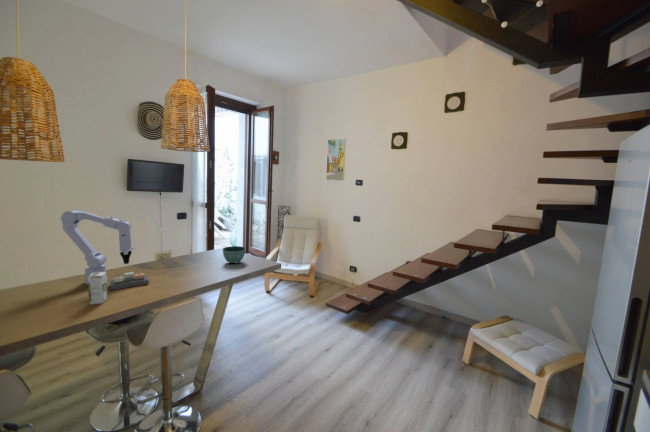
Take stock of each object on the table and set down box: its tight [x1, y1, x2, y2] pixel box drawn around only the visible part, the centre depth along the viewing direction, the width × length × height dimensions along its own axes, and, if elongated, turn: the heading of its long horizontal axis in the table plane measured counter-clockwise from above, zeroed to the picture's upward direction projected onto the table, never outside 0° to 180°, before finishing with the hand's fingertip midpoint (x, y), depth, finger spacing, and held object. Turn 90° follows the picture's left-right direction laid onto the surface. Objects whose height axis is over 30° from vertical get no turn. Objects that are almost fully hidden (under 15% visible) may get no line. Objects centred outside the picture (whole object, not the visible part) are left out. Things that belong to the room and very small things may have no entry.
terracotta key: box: [134, 272, 145, 280], centre depth 167 cm, size 4×4×5 cm
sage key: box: [123, 271, 135, 282], centre depth 164 cm, size 4×4×5 cm
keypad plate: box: [109, 274, 149, 291], centre depth 164 cm, size 18×10×2 cm, turn 125°
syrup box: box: [87, 271, 108, 305], centre depth 140 cm, size 6×6×14 cm
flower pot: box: [222, 245, 246, 263], centre depth 211 cm, size 16×16×11 cm
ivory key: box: [113, 275, 124, 283], centre depth 161 cm, size 4×4×5 cm
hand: (126, 263), depth 170 cm, fingers closed
